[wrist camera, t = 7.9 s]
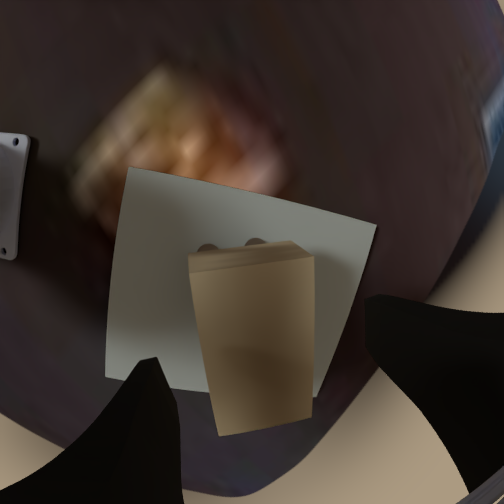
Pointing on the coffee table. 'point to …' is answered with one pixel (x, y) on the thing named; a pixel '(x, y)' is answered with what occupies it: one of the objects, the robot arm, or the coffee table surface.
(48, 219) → the coffee table surface
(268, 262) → the beige cardboard carton
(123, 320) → the blue-grey board
